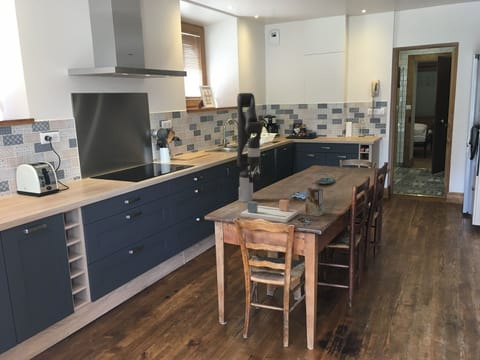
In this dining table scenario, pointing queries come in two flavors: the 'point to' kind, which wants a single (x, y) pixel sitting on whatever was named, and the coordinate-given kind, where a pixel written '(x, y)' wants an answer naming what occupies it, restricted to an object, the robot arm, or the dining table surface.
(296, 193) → the dining table surface
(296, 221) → the dining table surface
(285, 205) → the block
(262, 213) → the console
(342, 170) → the dining table surface
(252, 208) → the slate fader
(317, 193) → the coffee box
